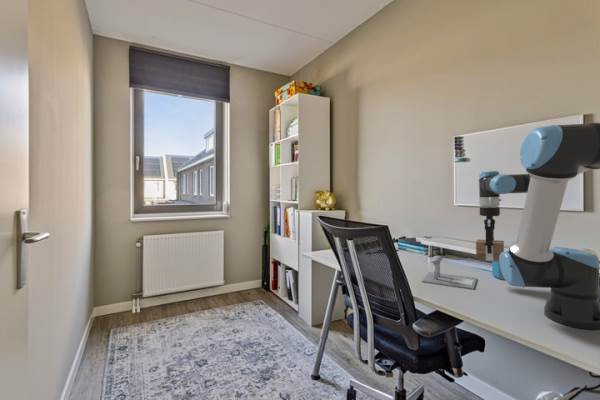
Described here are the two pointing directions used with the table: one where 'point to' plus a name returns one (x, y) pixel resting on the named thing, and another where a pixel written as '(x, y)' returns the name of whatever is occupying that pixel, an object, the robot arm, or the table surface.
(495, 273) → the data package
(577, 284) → the robot arm
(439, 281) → the boss board
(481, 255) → the wooden notched block
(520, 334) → the table surface
